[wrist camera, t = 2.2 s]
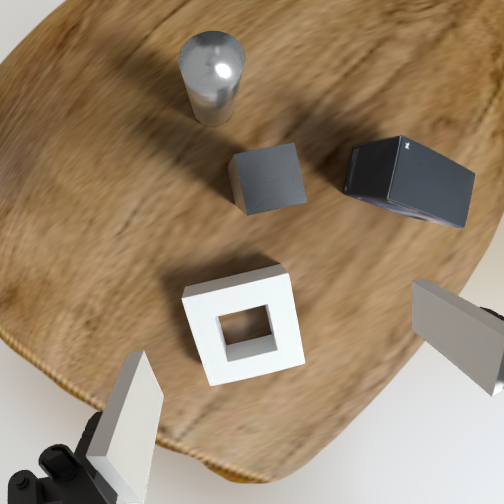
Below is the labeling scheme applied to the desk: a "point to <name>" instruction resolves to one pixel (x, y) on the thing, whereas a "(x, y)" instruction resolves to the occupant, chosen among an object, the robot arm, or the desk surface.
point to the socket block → (237, 299)
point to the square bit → (266, 179)
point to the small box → (410, 181)
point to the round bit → (212, 75)
